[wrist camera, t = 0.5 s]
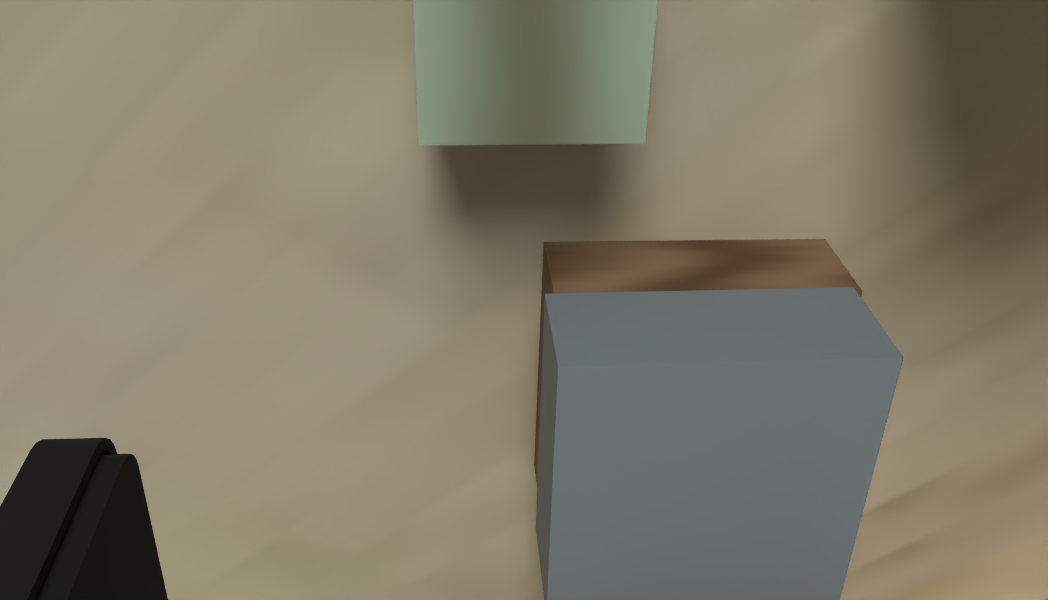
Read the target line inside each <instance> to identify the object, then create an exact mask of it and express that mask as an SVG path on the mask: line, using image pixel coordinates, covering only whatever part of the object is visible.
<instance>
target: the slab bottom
mask: <svg viewBox="0 0 1048 600" xmlns="http://www.w3.org/2000/svg"><path fill="white" fill-rule="evenodd" d="M843 287H854V288H855V290H856V291H857V293H858V294H859V296H860V297H861V295H862V290H861V289H860V287H859V286H858V284H857V283H856V282H855V280H854V279H853V277H852V276H851V275H850V273H849V272H848V271H847V269H846V268H845V266H844V265H843V264H842V262H841V261H840V259H839V258H838V257H837V255H836V254H835V253H834V251H833V250H832V248H831V247H830V246H829V244H828V243H827V241H826V240H825V239H784V240H692V241H599V242H544V250H543V273H542V297H541V320H540V344H539V368H538V391H537V415H536V438H535V462H534V466H535V473H536V481H537V488H538V461H539V434H540V407H541V380H542V353H543V326H544V299H545V294H553V293H602V292H650V291H698V290H747V289H795V288H843Z"/></svg>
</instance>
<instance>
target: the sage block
mask: <svg viewBox="0 0 1048 600" xmlns="http://www.w3.org/2000/svg"><path fill="white" fill-rule="evenodd" d="M657 4H658V0H413V15H414V42H415V69H416V96H417V124H418V146H436V145H536V144H636V143H645V139H646V128H647V116H648V105H649V94H650V83H651V71H652V60H653V49H654V38H655V27H656V15H657Z"/></svg>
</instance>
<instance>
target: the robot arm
mask: <svg viewBox="0 0 1048 600" xmlns="http://www.w3.org/2000/svg"><path fill="white" fill-rule="evenodd" d="M0 600H168V598H167V593H166V589H165V584H164V580H163V575H162V571H161V566H160V562H159V557H158V552H157V548H156V543H155V539H154V534H153V530H152V525H151V521H150V516H149V511H148V507H147V502H146V498H145V493H144V489H143V484H142V480H141V475H140V470H139V466H138V463H137V460H136V458H135V457H134V455H132V454H117V452H116V449H115V446H114V444H113V443H112V441H111V440H110V439H107V438H84V439H44V440H40V441H39V442H37V443H36V444H35V445H34V446H33V448H32V449H31V450H30V452H29V454H28V456H27V458H26V460H25V462H24V463H23V465H22V467H21V469H20V471H19V473H18V475H17V476H16V478H15V480H14V482H13V484H12V486H11V488H10V490H9V491H8V493H7V495H6V497H5V499H4V501H3V503H2V504H1V506H0Z"/></svg>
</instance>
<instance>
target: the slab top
mask: <svg viewBox="0 0 1048 600" xmlns="http://www.w3.org/2000/svg"><path fill="white" fill-rule="evenodd" d="M902 361H903V356H902V355H901V353H900V352H899V350H898V349H897V348H896V346H895V345H894V343H893V342H892V341H891V339H890V338H889V336H888V335H887V334H886V332H885V331H884V329H883V328H882V327H881V325H880V324H879V322H878V321H877V319H876V318H875V317H874V315H873V314H872V312H871V311H870V310H869V308H868V307H867V305H866V304H865V303H864V301H863V300H862V298H861V297H860V296H859V294H858V293H857V291H856V290H855V288H854V287H843V288H795V289H747V290H698V291H650V292H602V293H553V294H545V299H544V326H543V353H542V380H541V407H540V434H539V461H538V488H537V514H536V532H537V541H538V549H539V557H540V566H541V574H542V582H543V590H544V599H545V600H840V596H841V592H842V589H843V585H844V581H845V577H846V573H847V570H848V566H849V562H850V558H851V554H852V551H853V547H854V543H855V539H856V535H857V532H858V528H859V524H860V520H861V517H862V513H863V509H864V505H865V501H866V498H867V494H868V490H869V486H870V482H871V479H872V475H873V471H874V467H875V464H876V460H877V456H878V452H879V448H880V445H881V441H882V437H883V433H884V429H885V426H886V422H887V418H888V414H889V411H890V407H891V403H892V399H893V395H894V392H895V388H896V384H897V380H898V376H899V373H900V369H901V365H902Z"/></svg>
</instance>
